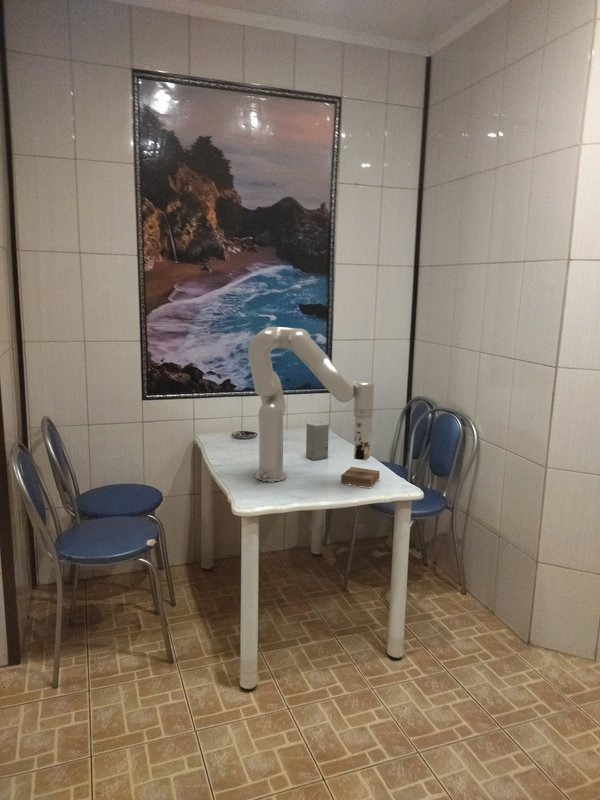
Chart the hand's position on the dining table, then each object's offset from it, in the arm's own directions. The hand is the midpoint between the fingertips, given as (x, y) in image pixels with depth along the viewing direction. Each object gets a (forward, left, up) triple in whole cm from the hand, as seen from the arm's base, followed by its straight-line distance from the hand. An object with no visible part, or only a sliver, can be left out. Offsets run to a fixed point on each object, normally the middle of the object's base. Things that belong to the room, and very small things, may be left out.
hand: (362, 456), depth 234 cm
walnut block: (0, 0, -11) cm, 11 cm away
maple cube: (0, 0, -1) cm, 1 cm away
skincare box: (+22, +28, -11) cm, 37 cm away
